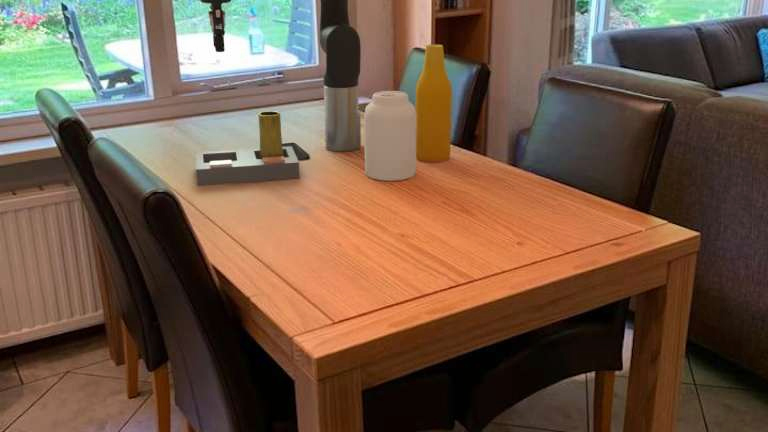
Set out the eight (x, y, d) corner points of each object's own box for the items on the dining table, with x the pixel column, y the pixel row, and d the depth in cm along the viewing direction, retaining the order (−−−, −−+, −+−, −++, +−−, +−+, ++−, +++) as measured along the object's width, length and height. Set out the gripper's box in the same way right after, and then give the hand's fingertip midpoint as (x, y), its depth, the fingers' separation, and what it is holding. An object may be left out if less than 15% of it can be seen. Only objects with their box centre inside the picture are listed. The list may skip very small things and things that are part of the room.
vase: (272, 174, 188) (269, 117, 183) (254, 170, 191) (251, 113, 186) (289, 168, 192) (286, 112, 187) (272, 164, 196) (269, 109, 191)
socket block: (292, 161, 198) (291, 143, 197) (299, 178, 185) (298, 159, 183) (197, 167, 193) (195, 150, 192) (197, 185, 179) (195, 167, 178)
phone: (281, 159, 197) (267, 145, 210) (281, 163, 198) (267, 149, 211) (311, 155, 200) (295, 142, 213) (311, 160, 201) (295, 146, 214)
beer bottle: (410, 161, 198) (411, 47, 188) (420, 152, 206) (421, 42, 196) (445, 164, 195) (447, 49, 185) (453, 154, 203) (457, 43, 193)
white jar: (355, 177, 185) (354, 95, 178) (379, 164, 195) (379, 86, 188) (401, 184, 179) (402, 100, 172) (424, 170, 190) (425, 90, 183)
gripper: (232, -16, 182) (236, 53, 188) (228, -20, 195) (232, 45, 201) (199, -16, 180) (204, 54, 186) (198, -20, 193) (203, 46, 199)
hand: (219, 49), depth 193 cm, fingers open, 8 cm apart
